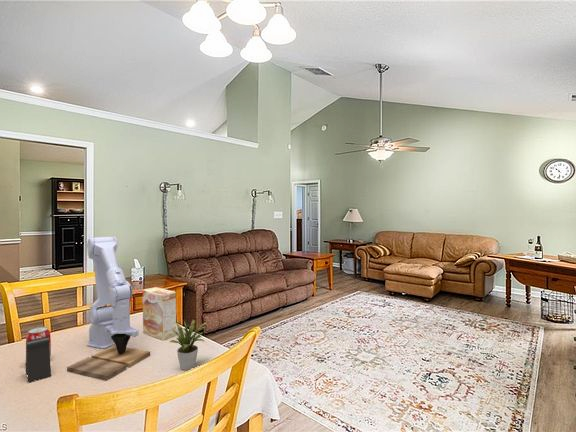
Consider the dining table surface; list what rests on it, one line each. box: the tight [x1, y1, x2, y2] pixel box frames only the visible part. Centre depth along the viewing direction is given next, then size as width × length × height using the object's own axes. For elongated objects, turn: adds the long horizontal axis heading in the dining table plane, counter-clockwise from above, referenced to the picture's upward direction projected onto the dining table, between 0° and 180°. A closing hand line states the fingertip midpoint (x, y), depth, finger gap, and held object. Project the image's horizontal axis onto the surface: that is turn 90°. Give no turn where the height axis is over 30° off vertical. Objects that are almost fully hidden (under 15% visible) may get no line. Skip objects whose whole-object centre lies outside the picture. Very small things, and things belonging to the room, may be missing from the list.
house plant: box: [169, 319, 209, 371], centre depth 113 cm, size 14×14×16 cm
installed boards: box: [66, 356, 127, 381], centre depth 112 cm, size 18×8×2 cm, turn 70°
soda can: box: [25, 326, 52, 358], centre depth 118 cm, size 7×7×12 cm
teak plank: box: [90, 344, 151, 368], centre depth 122 cm, size 18×10×2 cm, turn 70°
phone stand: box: [25, 337, 52, 383], centre depth 109 cm, size 9×6×12 cm, turn 43°
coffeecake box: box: [142, 286, 177, 341], centre depth 144 cm, size 15×7×20 cm, turn 55°
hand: (121, 352), depth 122 cm, fingers closed
